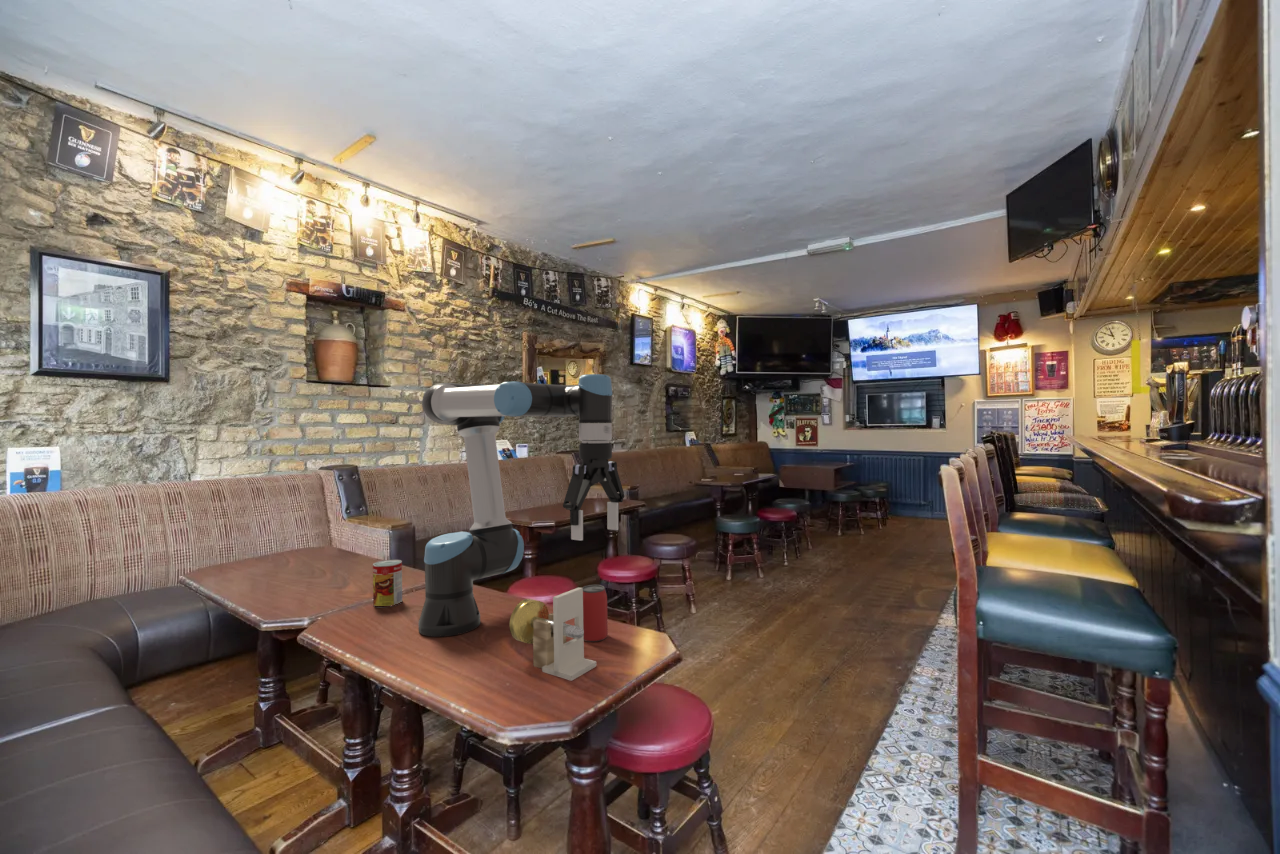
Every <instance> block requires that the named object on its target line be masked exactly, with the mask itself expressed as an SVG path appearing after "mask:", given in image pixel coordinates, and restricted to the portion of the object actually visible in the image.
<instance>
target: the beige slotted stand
mask: <svg viewBox="0 0 1280 854" xmlns="http://www.w3.org/2000/svg"><path fill="white" fill-rule="evenodd" d="M552 606H553V607H552V608H553V609H552V610H553V611H552V613H553V624H554V662H553V663H551V664H549V665H548V666H547V665H545V666H543V667H542V669H541V671H542V673H545V674H548V675H552V676H555V677H558V678H561V679H564V680H568V681H569V682H570V681H573V680H575V679H577V678H579V677H580V676H582V675H584V674H586V673H587V672H590V670H591V671H592V670H593V669H594V668H596V667H597V661H596V660H592V659H590V658H585V645H584V641H585V640H584V635H583V637H582V638H580V639H575V638H571V639H570V640H568V641H566V643H564V644H563V623H564V622H565V623H566V622H568V621H570V620H572V619H574V626H578V627H581V628H582V629H583V587H579V586H578V587H576V588H574V589H573V588H572V589H571V590H569V591H564V592H563V593H560V594H557V595H555V596H552Z"/></svg>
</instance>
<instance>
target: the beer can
mask: <svg viewBox="0 0 1280 854" xmlns="http://www.w3.org/2000/svg"><path fill="white" fill-rule="evenodd" d="M582 588H583V631H584V641H586V642H591V643H595V642H601V641H603V640H605V639H607V638H608V635H609V634H608V633H609V628H608V627H609V626H608V625H609V623H608V621H607V620H608V594H607V592H606V587H605V586H604V585H601V584H589V585H584V586H583V587H582Z"/></svg>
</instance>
